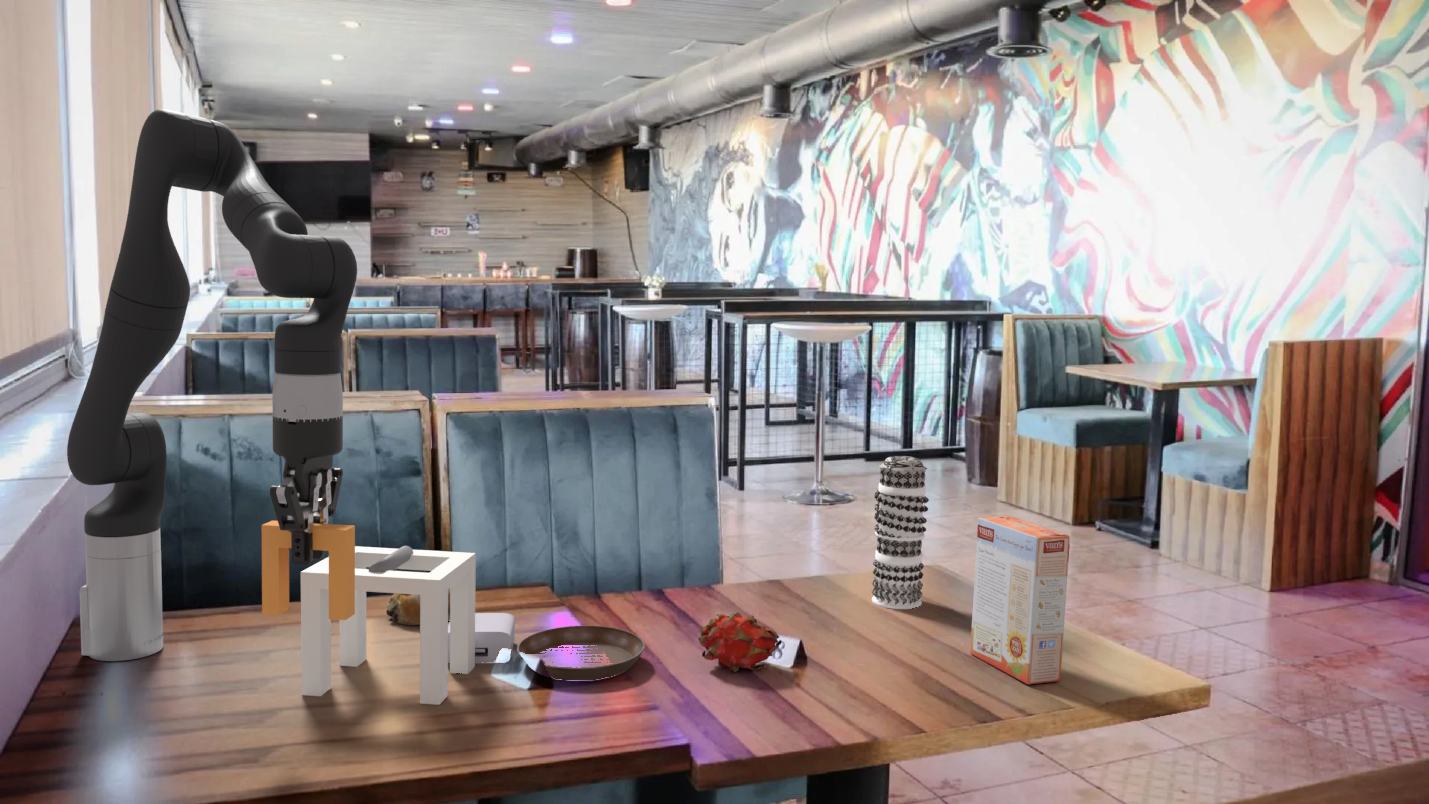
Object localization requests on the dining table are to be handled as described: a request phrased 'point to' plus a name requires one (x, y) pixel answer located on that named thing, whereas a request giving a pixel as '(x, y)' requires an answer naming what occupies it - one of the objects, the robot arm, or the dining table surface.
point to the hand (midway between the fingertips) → (308, 560)
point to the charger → (491, 635)
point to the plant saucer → (612, 641)
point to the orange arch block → (324, 538)
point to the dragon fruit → (738, 642)
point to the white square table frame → (380, 577)
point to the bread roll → (407, 608)
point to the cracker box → (1020, 598)
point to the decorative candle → (899, 533)
